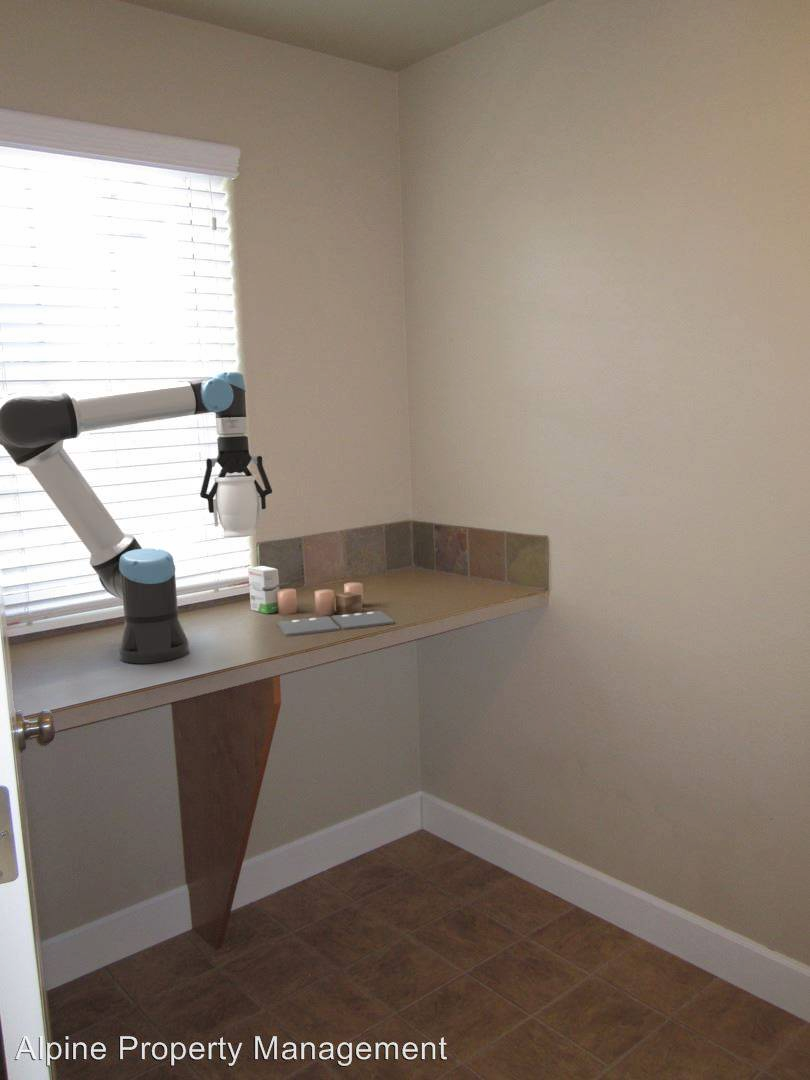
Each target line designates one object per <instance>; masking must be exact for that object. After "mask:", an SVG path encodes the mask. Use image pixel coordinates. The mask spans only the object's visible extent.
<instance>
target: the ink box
mask: <svg viewBox="0 0 810 1080" xmlns="http://www.w3.org/2000/svg"><path fill="white" fill-rule="evenodd" d="M247 569H248V570H247V571H248V584H249V598H250V599H249V600H250V602H249V603H250V610H251V611H255V612H259V613H262V614H266V615H269V614H271V613H272V614H273V613H278V600H277V591H278V590H280V580H279V579H280V577H279V569H278V568H275V567H271V566H265V565H260V566H259V565H258V566H251V567H247Z"/></svg>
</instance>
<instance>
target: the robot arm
mask: <svg viewBox="0 0 810 1080" xmlns="http://www.w3.org/2000/svg"><path fill="white" fill-rule="evenodd" d="M245 386H246V385H245V379H244V375H243V374H242V373H241V372H239V371H237V372H236V371H235V372H234V371H232V372H231V371H228V372H227V371H226V372H224V371H223V372H215V373H213V375H212V377H210V378H205V379H197V380H196V379H195V380H187V381H183V380H182V381H181V380H179V381H170V382H168V383H167V384H159V385H151V386H144V387H136V388H128V389H127V388H126V389H121V390H120V389H119V390H111V391H105V392H98V393H90V394H89V393H88V394H79V395H73V394H71V393H70V392H58V393H57V392H56V393H35V392H34V393H32V392H21V393H20V392H19V393H10V394H7V395H4V396H2V397H0V445H1V446H2V447H3V448H4V450H5V451H6V452H7V454H8V455H9V456H10V458H11V459H12V461H13V462H14V463H15V464H16V466H19V467H23V468H26V469H28V470H29V471H30V473H31V474H32V475H33V477H34V478H35V479H36V480H37V482H38V483H39V485H40V486H41V487H42V489H43V490H44V491H45V493H46V494H47V496H48V497H49V498H50V500H51V501H52V503H53V504H54V505H55V506H56V508H57V510H58V511H59V512H60V513H61V515H62V516H63V518H64V519H65V521H66V522H67V523H68V524H69V526H70V528H72V530H73V531H74V532H75V534H76V535H77V536H78V538H79V540H80V541H81V542H82V544H83V545H84V546H85V548H86V549H87V551H89V553H90V557H89V565H90V566H91V568H92V569H93V570H94V571H95V573H96V574H97V576H98V578H99V583H100V584H101V586H102V587H103V589H104V590H106V592H107V593H108V594H110V595H112V596H114V597H115V598H118V599H121V600H122V603H123V604H122V605H123V614H124V615H123V616H124V626H123V627H124V628H123V631H122V635H121V638H120V643H119V644H120V645H119V648H118V649H119V650H118V653H119V659H120V661H122V662H125V663H130V664H154V663H162V662H167V661H172V660H174V659H175V660H176V659H178V658H180V657H183V656H186V655H187V654H188V653H189V652H190V647H189V646H190V645H189V640H188V638H187V636H186V634H185V633H186V632H185V630H184V628H183V626H182V623H181V622H180V619H179V609H178V597H177V596H178V595H177V583H176V566H175V564H174V558H173V555H172V554H171V553H170V552H168V551H166V550H163V549H156V548H142V546H141V545H140V543H139V542H138V540H137V539H136V538H135V536H134V535H133V534H128V533H124V532H123V531H122V529H121V528H120V527H119V525H118V524H117V523H116V520H115V519H114V518H113V517H112V515H111V514H110V512H109V511H108V509H107V508H106V507H105V505H104V504H103V502H102V501H101V499H100V498H99V497H98V496H97V493H95V491H94V489H93V488H92V487H91V486H90V484H89V483H88V480H86V479H85V477H84V476H83V474H82V473H81V471H80V470H79V469H78V467H77V465H76V464H75V463H74V461H73V460H72V458H71V457H70V455H69V454H68V453H67V451H66V450H65V449H64V447H63V446H64V440H65V441H66V440H70V439H77V438H78V437H79V436H80V435H81V433H84V432H90V431H96V430H97V431H98V430H103V429H111V428H115V427H123V426H130V425H136V424H141V423H149V422H154V421H155V422H156V421H162V420H170V419H174V418H181V417H187V416H188V417H189V416H193V415H194V416H196V415H197V416H198V415H203V414H209V413H215V425H216V426H215V427H216V428H215V429H216V434H217V435H219V436H218V437H217V439H216V440H217V457H214V458H209V457H207V458H206V459H205V465H206V468H205V473H204V477H203V481H202V485H201V487H200V488H201V489H200V493H199V496H200V497H201V498H202V499H205V500H207V507H208V512H209V514H213V525H214V527H218V526H219V515H218V511H217V502H216V498H215V497H216V492H217V487H218V483H217V482H215V481H214V483H213V485H212V487H211V489H210V491H209V493H207V491H208V488H209V484H210V479H211V475H212V471H213V468H214V467H216V463H217V464H219V466H220V467H221V469H220V472H219V473H218V476H217V477H220V478H224V477H225V476H226V475H228V474H235V473H236V474H237V473H238V474H242V473H243V474H244V475H246V476H252V475H253V474H252V472H251V471H250V469H249V468H248V466H249V464H250V463H251V462H253V464H254V465H256V468H257V470H258V473H259V476H260V478H261V482H262V484H263V486H264V489H263V488H262V487H261V485H260V484H259V482H258V481H257V479H256V480H255V481H254V484H255V486H256V490H257V494H259V495H258V508H257V521H258V523H259V524H262V523H264V521H263V510H266V508H267V505H266V503H267V502H266V497H267V496H268V495H269V494H272V493H273V488H272V486H271V483H270V481H269V479H268V478H269V477H268V476H267V473H266V470H265V469H264V465H263V457H262V456H261V455H255V456H254V455H252V456H251V454H250V450H249V448H250V447H249V437H248V436H247V435H246V434H248V421H247V403H246V392H247V391H246V387H245ZM214 498H215V499H214Z"/></svg>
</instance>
